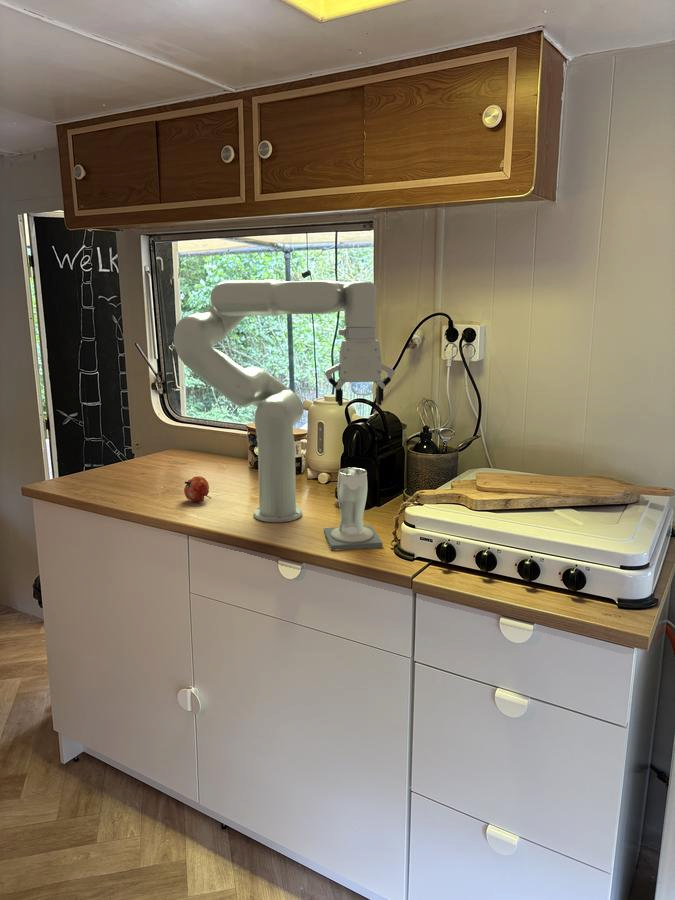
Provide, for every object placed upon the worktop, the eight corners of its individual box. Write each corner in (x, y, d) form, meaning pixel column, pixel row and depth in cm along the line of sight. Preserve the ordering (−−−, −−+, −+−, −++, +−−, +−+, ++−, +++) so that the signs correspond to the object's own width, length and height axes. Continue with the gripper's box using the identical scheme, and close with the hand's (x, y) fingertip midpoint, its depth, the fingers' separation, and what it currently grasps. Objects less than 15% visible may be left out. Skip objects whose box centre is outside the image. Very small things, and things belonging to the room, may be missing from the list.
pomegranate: (200, 503, 201) (172, 487, 196) (215, 483, 201) (187, 466, 196) (208, 513, 195) (179, 497, 190) (223, 492, 195) (195, 475, 190)
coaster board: (323, 532, 171) (323, 525, 171) (371, 530, 173) (371, 523, 173) (330, 550, 160) (330, 543, 159) (382, 547, 162) (382, 540, 161)
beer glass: (364, 527, 170) (366, 467, 166) (367, 537, 163) (369, 475, 160) (336, 527, 169) (337, 467, 166) (337, 537, 163) (338, 475, 159)
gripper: (326, 335, 164) (326, 408, 168) (398, 335, 167) (397, 406, 170) (322, 333, 171) (322, 403, 175) (391, 333, 174) (390, 401, 178)
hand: (359, 404), depth 173 cm, fingers open, 9 cm apart
